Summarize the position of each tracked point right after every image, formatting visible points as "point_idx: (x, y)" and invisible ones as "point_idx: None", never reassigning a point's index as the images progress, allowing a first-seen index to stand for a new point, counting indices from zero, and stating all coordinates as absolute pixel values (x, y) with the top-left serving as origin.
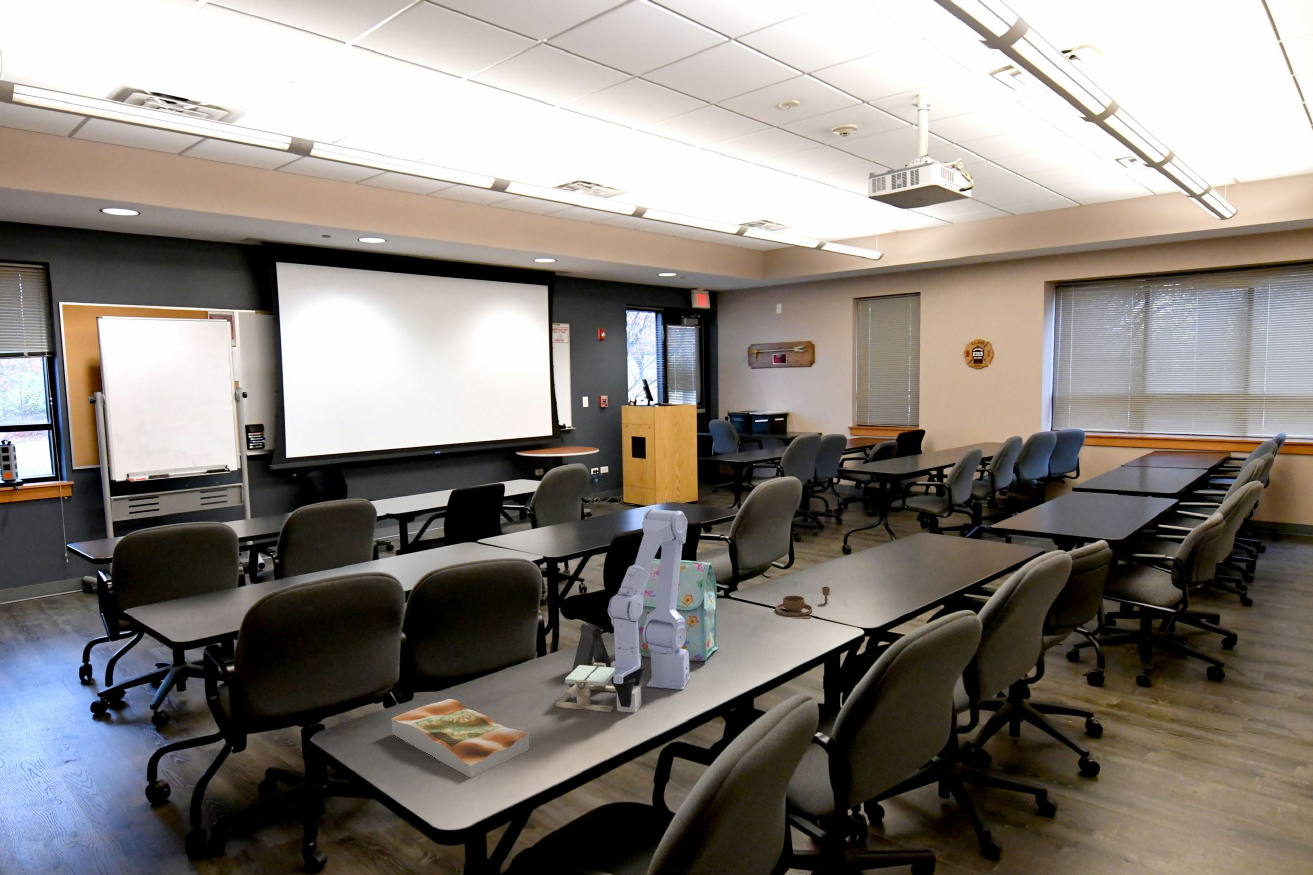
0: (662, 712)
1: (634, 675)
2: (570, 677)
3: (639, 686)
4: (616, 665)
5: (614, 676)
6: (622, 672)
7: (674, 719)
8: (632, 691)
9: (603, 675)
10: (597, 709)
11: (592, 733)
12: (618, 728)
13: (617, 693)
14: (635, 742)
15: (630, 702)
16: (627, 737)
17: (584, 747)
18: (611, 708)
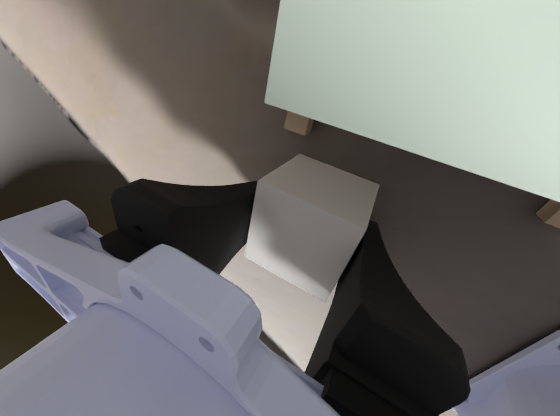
0: (280, 283)
1: (325, 334)
2: None
3: (322, 297)
4: (94, 309)
5: (4, 227)
6: (66, 293)
7: (245, 291)
8: (266, 254)
9: (477, 65)
10: None
11: (145, 69)
12: (186, 155)
13: (224, 186)
14: None
15: None
16: (155, 176)
17: (86, 58)
18: (293, 131)
